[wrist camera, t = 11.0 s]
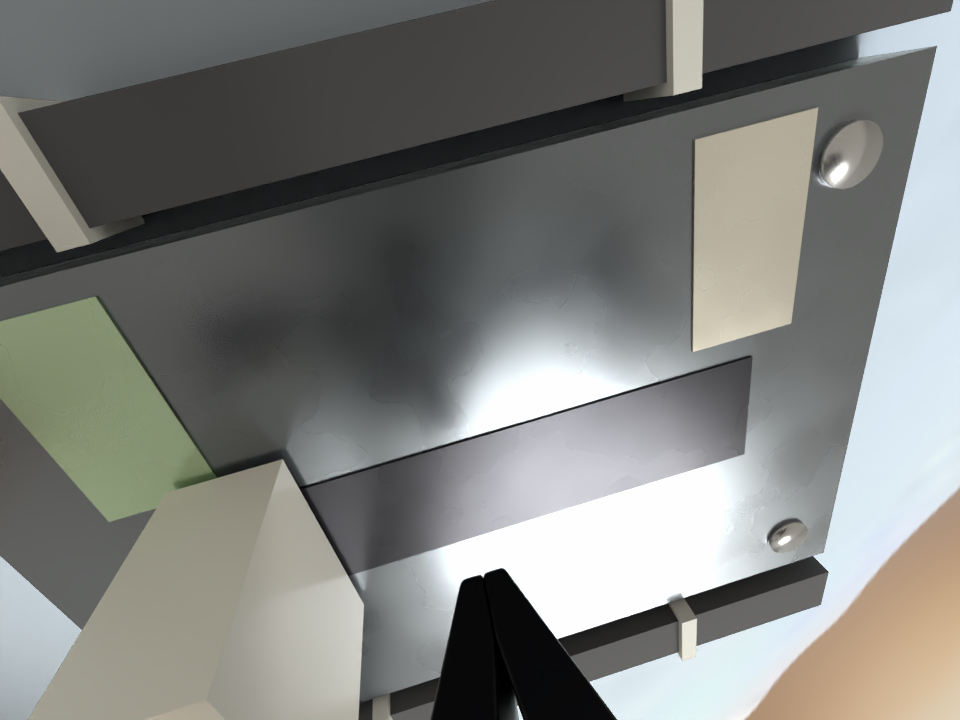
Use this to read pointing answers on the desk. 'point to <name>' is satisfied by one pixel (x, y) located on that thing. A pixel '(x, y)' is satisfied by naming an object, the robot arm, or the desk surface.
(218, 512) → the lever
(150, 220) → the desk surface
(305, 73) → the cord bundle outer
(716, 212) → the breaker panel
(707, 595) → the cord bundle inner
